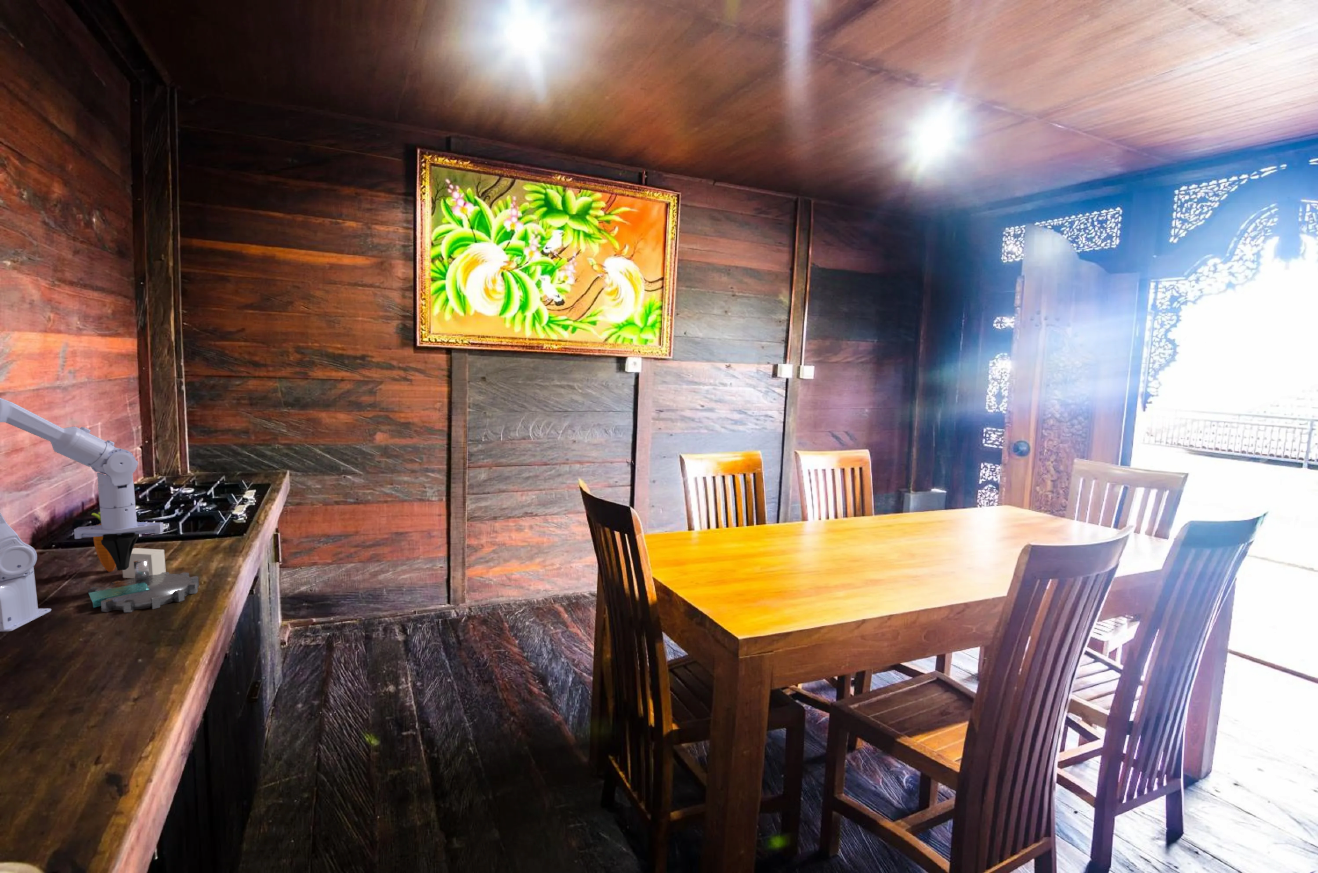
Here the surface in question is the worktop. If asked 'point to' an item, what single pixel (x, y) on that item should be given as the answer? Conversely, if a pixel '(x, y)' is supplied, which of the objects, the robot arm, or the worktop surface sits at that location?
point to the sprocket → (144, 590)
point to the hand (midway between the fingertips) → (123, 568)
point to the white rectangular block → (154, 561)
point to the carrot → (103, 551)
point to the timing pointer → (93, 589)
